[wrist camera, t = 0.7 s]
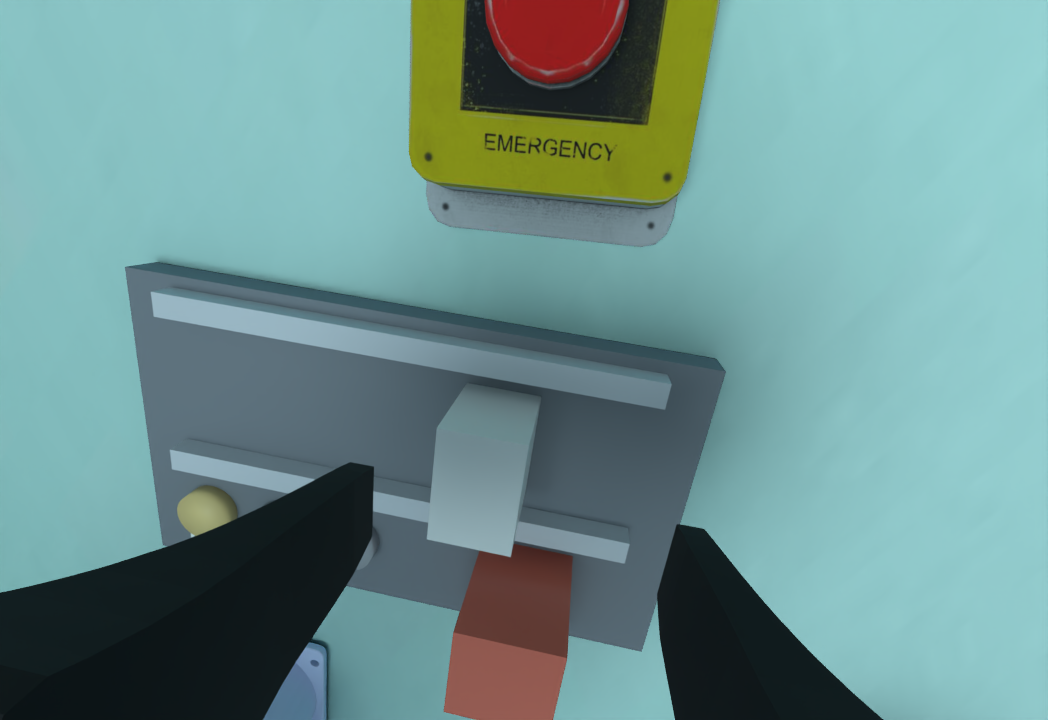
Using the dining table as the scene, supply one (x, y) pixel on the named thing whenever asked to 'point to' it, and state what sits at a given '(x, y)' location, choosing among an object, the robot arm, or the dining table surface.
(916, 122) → the dining table surface
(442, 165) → the emergency button
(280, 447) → the panel
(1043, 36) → the dining table surface
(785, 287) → the dining table surface
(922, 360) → the dining table surface
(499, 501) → the lever
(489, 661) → the block
